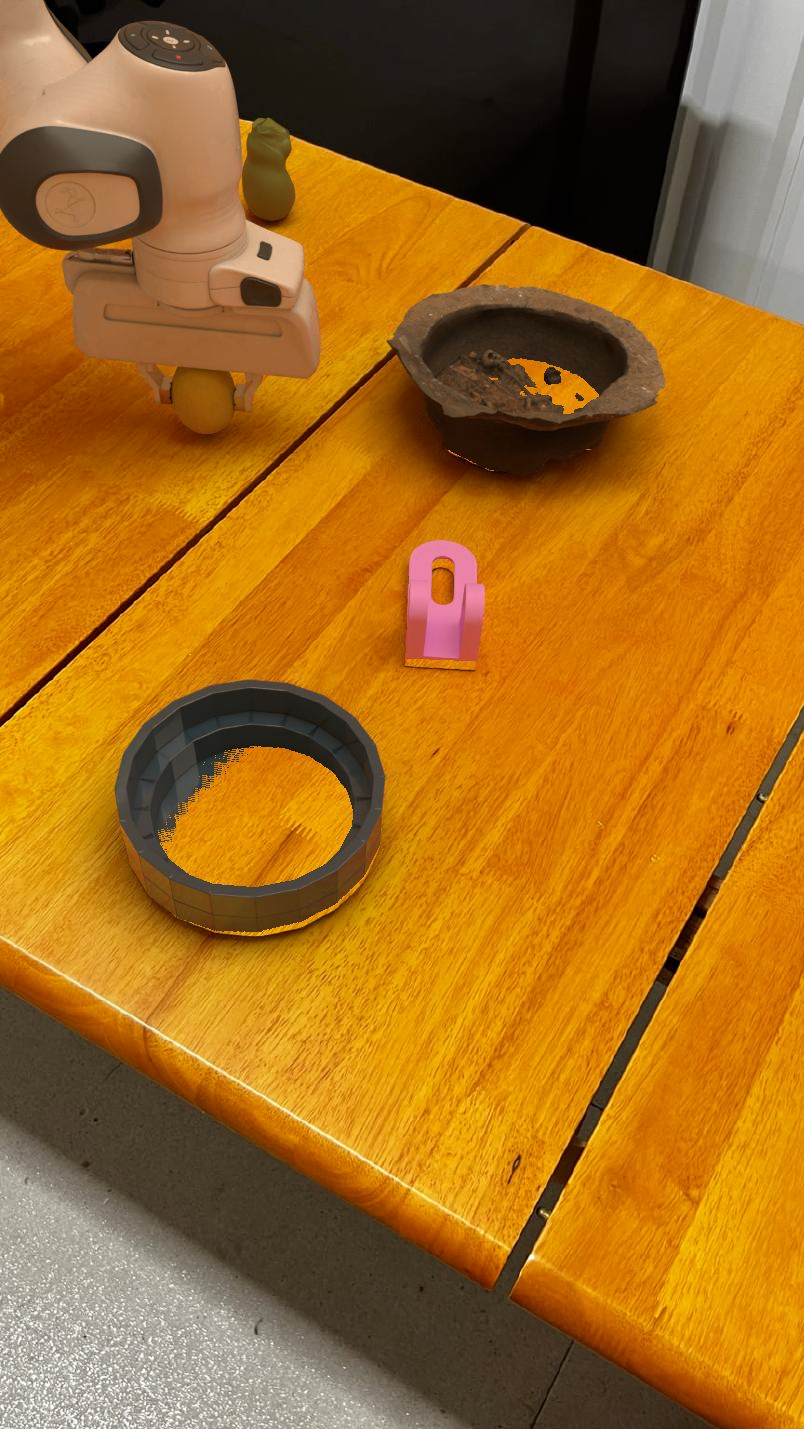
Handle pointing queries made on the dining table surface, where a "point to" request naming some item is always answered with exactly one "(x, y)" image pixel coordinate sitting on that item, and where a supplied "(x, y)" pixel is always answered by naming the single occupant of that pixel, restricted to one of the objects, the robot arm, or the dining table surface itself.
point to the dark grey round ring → (194, 734)
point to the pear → (268, 171)
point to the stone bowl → (522, 372)
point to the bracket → (444, 606)
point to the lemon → (203, 398)
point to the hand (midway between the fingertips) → (205, 403)
